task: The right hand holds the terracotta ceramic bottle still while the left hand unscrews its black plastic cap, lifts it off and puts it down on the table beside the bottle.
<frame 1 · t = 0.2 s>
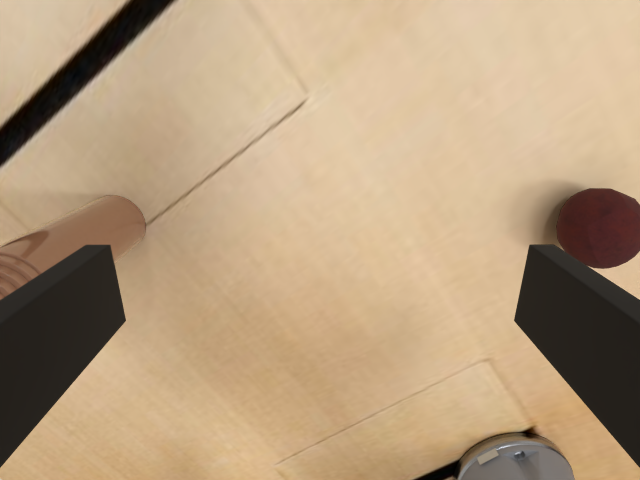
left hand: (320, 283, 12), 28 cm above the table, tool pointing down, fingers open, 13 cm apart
bottle: (117, 222, 41), on the table
dark red rounded piece: (576, 215, 41), on the table
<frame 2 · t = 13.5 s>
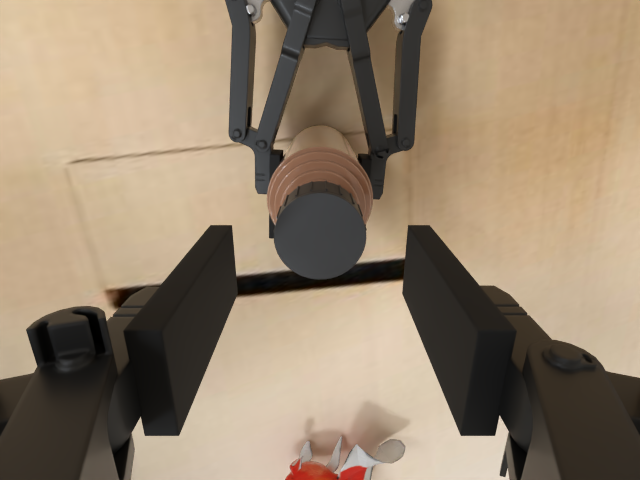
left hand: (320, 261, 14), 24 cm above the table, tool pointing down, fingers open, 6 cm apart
right hand: (316, 234, 32), fingers closed on bottle, 6 cm apart
fish: (339, 443, 49), on the table
cap: (319, 235, 17), point 21 cm above the table, screwed on, not yet turned
bottle: (319, 158, 36), on the table, touching right hand
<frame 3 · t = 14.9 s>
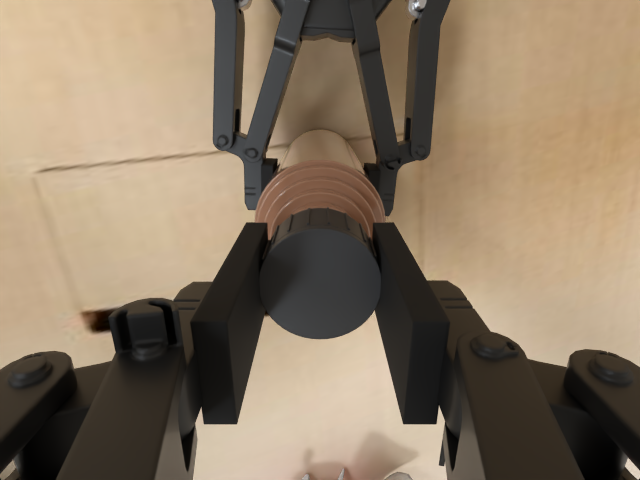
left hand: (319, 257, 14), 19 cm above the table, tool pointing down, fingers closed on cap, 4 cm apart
right hand: (316, 255, 28), fingers closed on bottle, 6 cm apart
fish: (341, 476, 45), on the table
cap: (320, 282, 12), point 21 cm above the table, screwed on, not yet turned, touching left hand
bottle: (320, 166, 32), on the table, touching right hand
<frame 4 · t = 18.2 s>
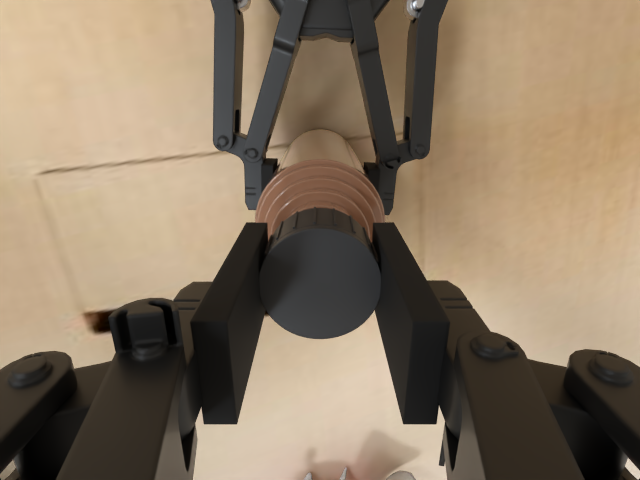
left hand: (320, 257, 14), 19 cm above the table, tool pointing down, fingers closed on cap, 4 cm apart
right hand: (317, 254, 28), fingers closed on bottle, 6 cm apart
fish: (343, 475, 45), on the table
cap: (320, 282, 12), point 21 cm above the table, turned 107° so far, risen 0.1 cm, still on its thread, touching left hand
bottle: (320, 166, 32), on the table, touching right hand
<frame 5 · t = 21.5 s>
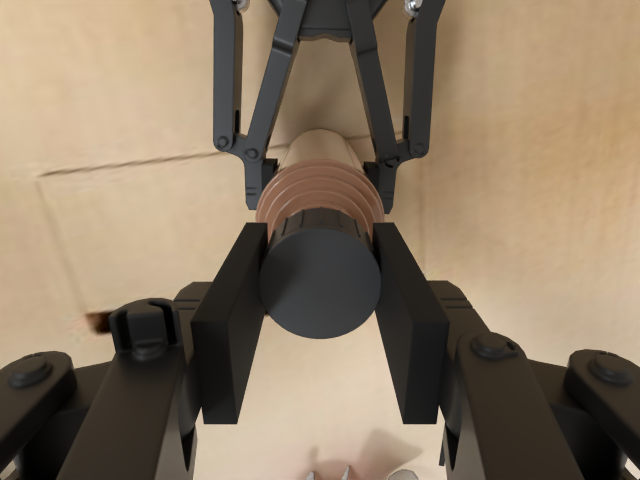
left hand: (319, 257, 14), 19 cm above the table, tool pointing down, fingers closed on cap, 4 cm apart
right hand: (317, 253, 28), fingers closed on bottle, 6 cm apart
fish: (346, 474, 45), on the table
cap: (320, 282, 12), point 21 cm above the table, turned 214° so far, risen 0.2 cm, still on its thread, touching left hand
bottle: (320, 166, 32), on the table, touching right hand
when the left hand's fingers open (2 cm above the table, at t = 34.5 s): cap drops 2 cm, point 2 cm above the table.
when the right hand's fingers open (7 cm above the table, at t = 35.7 s): bottle stays where it is, on the table.
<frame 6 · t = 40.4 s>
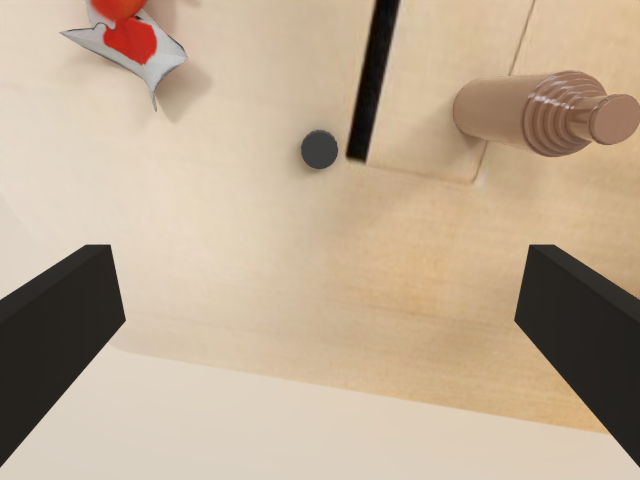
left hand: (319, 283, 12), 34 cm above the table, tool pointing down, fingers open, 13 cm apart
fish: (152, 30, 40), on the table
cap: (319, 150, 42), point 2 cm above the table, off its thread
bottle: (480, 108, 43), on the table
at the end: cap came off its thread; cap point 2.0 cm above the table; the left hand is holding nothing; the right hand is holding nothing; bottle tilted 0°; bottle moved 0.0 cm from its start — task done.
